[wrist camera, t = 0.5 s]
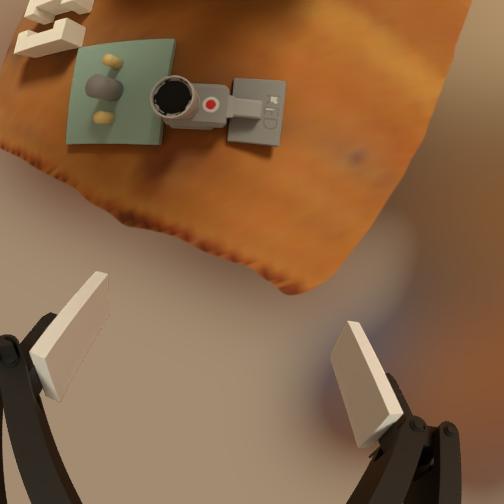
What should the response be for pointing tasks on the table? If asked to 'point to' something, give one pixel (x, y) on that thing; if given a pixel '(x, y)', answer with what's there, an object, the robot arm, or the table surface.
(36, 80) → the table surface
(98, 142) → the board
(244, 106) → the camera
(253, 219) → the table surface
